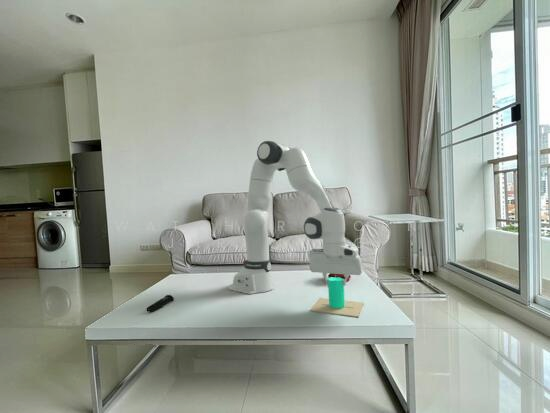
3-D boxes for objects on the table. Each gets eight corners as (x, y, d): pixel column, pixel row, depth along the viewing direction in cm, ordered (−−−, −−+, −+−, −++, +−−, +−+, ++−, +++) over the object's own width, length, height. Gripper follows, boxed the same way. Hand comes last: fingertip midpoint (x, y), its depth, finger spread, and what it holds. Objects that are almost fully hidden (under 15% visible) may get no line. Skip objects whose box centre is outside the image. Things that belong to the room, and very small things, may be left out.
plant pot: (328, 283, 141) (327, 259, 141) (326, 276, 154) (326, 254, 154) (354, 283, 140) (353, 259, 139) (351, 276, 153) (350, 254, 152)
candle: (345, 308, 106) (344, 277, 106) (329, 308, 107) (327, 277, 107) (344, 302, 112) (342, 273, 112) (329, 302, 113) (327, 273, 113)
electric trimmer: (143, 314, 112) (143, 306, 112) (167, 300, 127) (166, 293, 127) (152, 315, 111) (151, 307, 111) (174, 300, 126) (174, 293, 126)
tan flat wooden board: (309, 311, 107) (309, 309, 107) (320, 298, 120) (319, 297, 120) (358, 317, 99) (358, 316, 99) (363, 303, 112) (363, 302, 112)
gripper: (306, 249, 111) (308, 284, 111) (360, 251, 102) (361, 289, 102) (311, 247, 117) (312, 280, 117) (362, 248, 108) (363, 284, 108)
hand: (336, 284), depth 110 cm, fingers closed on candle, 5 cm apart
